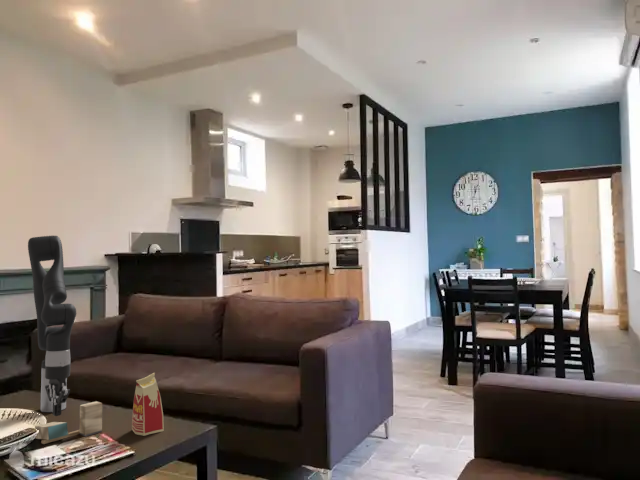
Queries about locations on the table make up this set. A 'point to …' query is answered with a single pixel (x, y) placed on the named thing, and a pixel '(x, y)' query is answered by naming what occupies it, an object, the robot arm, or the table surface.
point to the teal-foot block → (52, 430)
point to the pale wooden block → (90, 418)
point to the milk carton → (147, 407)
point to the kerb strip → (60, 437)
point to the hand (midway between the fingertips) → (56, 415)
